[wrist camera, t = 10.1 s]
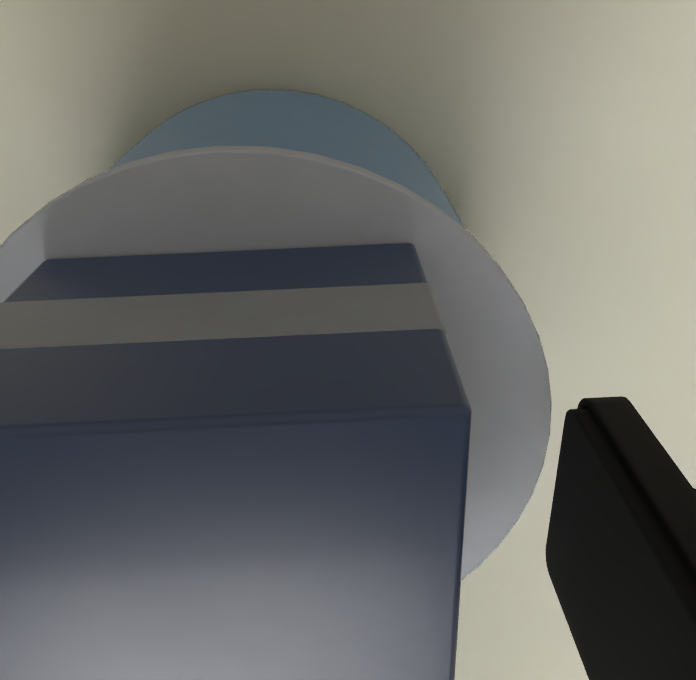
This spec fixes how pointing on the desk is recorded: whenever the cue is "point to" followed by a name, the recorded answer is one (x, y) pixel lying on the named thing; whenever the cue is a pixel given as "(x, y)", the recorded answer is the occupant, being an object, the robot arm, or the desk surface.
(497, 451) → the yogurt
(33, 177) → the desk surface
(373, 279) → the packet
